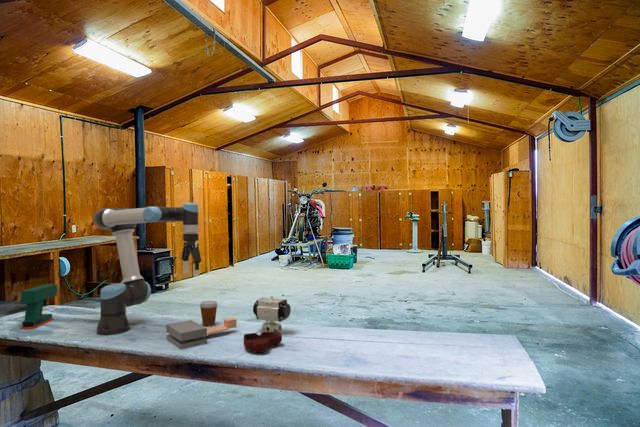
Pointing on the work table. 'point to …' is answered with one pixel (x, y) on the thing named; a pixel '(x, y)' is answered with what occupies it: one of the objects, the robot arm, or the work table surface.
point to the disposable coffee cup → (208, 312)
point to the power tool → (37, 305)
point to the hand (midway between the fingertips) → (191, 274)
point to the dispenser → (186, 334)
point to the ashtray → (261, 341)
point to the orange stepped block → (227, 325)
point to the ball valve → (271, 312)
